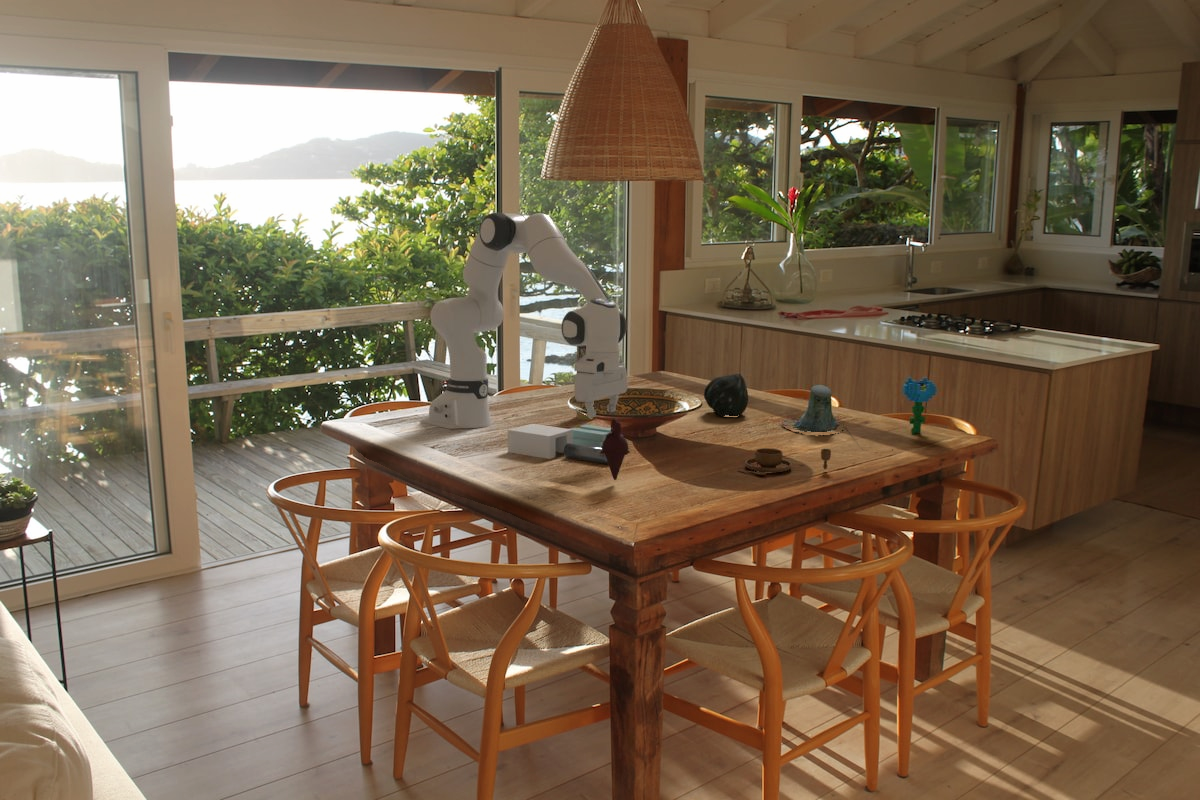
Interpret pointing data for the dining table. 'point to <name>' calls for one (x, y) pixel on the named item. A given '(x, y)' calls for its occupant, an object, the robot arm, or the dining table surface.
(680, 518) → the dining table surface
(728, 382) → the squash
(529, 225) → the robot arm
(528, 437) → the white notched block
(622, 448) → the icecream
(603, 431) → the v block
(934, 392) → the toy flower
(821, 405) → the green grey mushroom
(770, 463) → the place setting
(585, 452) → the axle
